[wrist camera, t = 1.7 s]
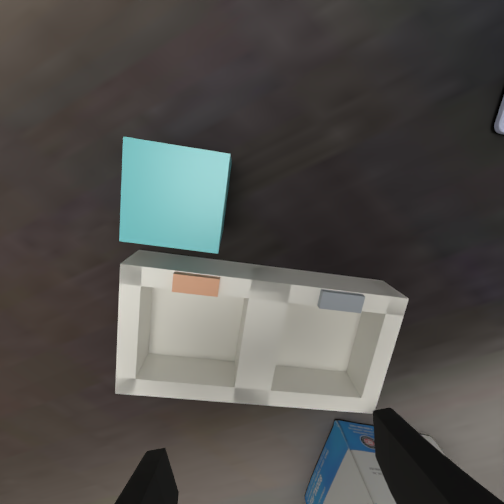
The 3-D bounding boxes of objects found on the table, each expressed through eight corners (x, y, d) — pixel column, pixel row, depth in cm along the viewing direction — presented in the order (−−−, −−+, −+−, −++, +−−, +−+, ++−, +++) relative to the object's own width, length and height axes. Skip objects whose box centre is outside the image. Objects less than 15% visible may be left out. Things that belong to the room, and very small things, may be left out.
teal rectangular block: (231, 162, 17) (230, 153, 11) (223, 229, 18) (218, 253, 12) (162, 151, 16) (123, 136, 11) (157, 219, 17) (119, 241, 12)
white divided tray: (382, 280, 19) (413, 301, 16) (354, 381, 21) (376, 418, 18) (138, 249, 18) (117, 266, 14) (132, 361, 20) (112, 398, 16)
